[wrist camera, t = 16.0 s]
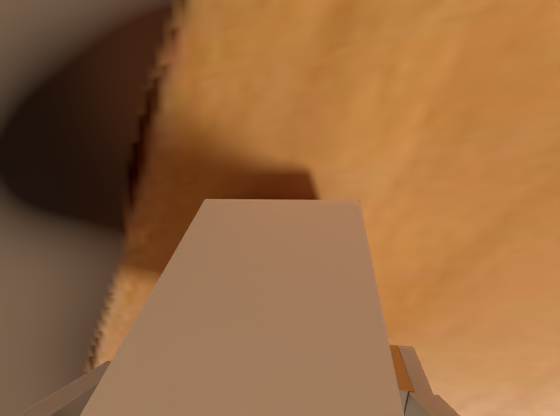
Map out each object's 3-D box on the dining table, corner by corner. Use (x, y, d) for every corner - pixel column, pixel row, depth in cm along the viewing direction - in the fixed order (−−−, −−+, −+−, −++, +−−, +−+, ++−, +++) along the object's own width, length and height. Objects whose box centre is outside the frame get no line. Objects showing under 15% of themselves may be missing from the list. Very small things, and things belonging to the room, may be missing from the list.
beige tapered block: (205, 198, 12) (54, 460, 5) (359, 200, 11) (426, 524, 4) (232, 288, 16) (170, 497, 9) (346, 294, 15) (368, 532, 8)
